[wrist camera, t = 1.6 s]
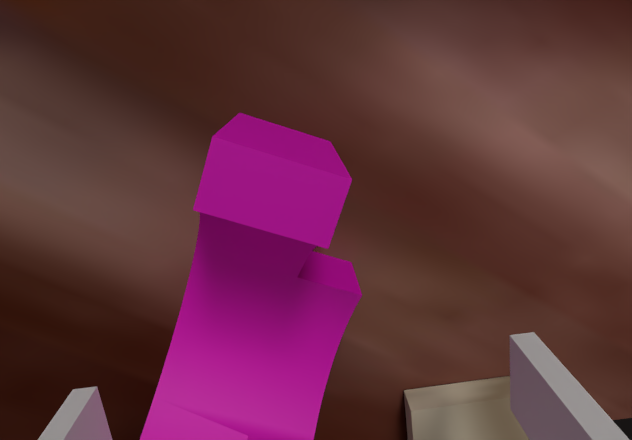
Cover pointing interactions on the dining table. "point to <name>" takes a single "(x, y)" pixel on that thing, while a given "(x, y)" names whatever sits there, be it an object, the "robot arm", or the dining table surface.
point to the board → (462, 412)
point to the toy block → (258, 291)
